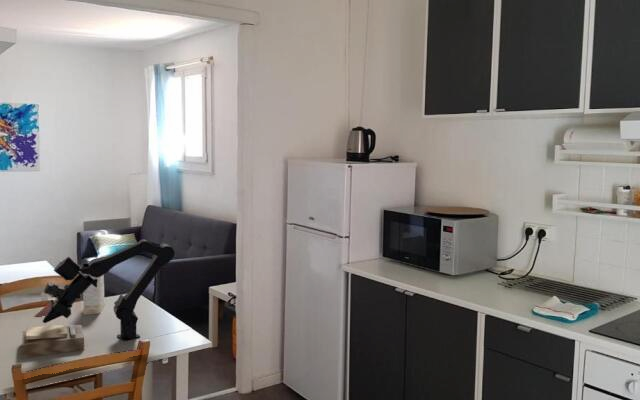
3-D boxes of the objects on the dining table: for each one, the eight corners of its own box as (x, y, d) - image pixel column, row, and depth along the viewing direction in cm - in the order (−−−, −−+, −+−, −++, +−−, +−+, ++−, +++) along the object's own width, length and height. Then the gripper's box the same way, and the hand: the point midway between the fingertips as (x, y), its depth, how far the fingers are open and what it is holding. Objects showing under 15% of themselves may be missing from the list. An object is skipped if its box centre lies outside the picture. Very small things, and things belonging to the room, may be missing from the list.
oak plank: (65, 328, 209) (66, 325, 209) (67, 336, 200) (67, 333, 200) (26, 330, 203) (26, 327, 203) (25, 339, 194) (25, 336, 194)
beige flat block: (81, 336, 214) (81, 322, 213) (84, 349, 200) (83, 334, 200) (22, 343, 205) (22, 328, 204) (21, 357, 192) (21, 342, 191)
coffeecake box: (88, 304, 254) (87, 261, 252) (105, 303, 256) (104, 261, 254) (82, 314, 240) (81, 269, 238) (100, 313, 242) (99, 268, 240)
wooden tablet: (55, 300, 261) (55, 297, 261) (78, 300, 262) (77, 297, 262) (30, 318, 235) (30, 314, 235) (55, 318, 236) (55, 314, 235)
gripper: (57, 268, 209) (25, 301, 206) (59, 280, 193) (24, 316, 189) (81, 287, 214) (50, 319, 210) (85, 300, 197) (51, 335, 193)
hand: (43, 322), depth 200 cm, fingers closed
